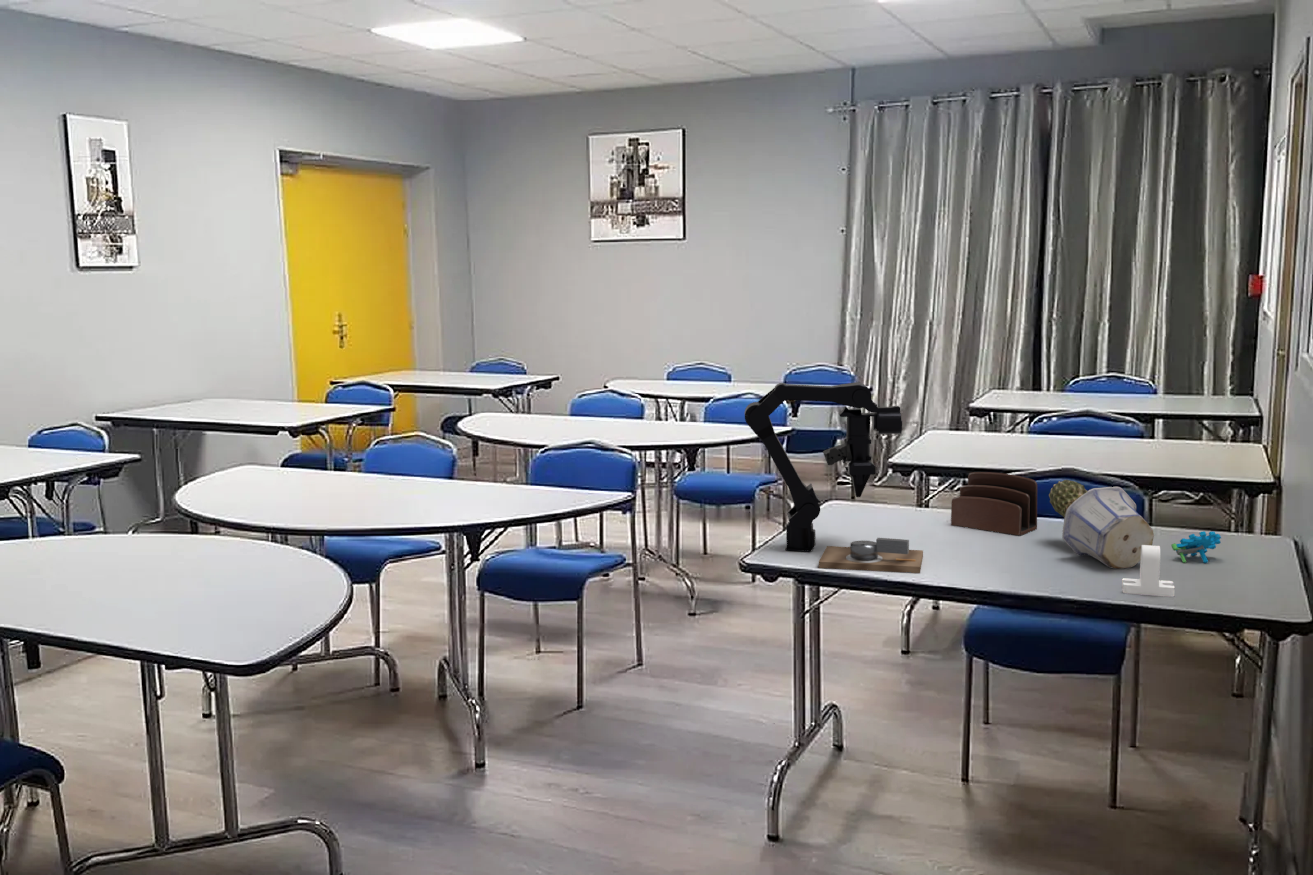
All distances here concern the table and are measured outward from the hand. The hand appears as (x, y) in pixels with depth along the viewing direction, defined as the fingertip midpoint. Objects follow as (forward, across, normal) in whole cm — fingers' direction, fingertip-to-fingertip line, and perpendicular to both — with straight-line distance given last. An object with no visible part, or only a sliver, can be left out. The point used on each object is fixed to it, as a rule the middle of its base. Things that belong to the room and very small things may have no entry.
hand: (858, 496), depth 271 cm
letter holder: (+14, -21, +38) cm, 46 cm away
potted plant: (+13, +8, +55) cm, 57 cm away
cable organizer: (+13, +38, +56) cm, 69 cm away
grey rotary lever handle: (+11, +16, +3) cm, 20 cm away
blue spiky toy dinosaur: (+13, +12, +76) cm, 78 cm away
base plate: (+13, +13, +2) cm, 19 cm away
